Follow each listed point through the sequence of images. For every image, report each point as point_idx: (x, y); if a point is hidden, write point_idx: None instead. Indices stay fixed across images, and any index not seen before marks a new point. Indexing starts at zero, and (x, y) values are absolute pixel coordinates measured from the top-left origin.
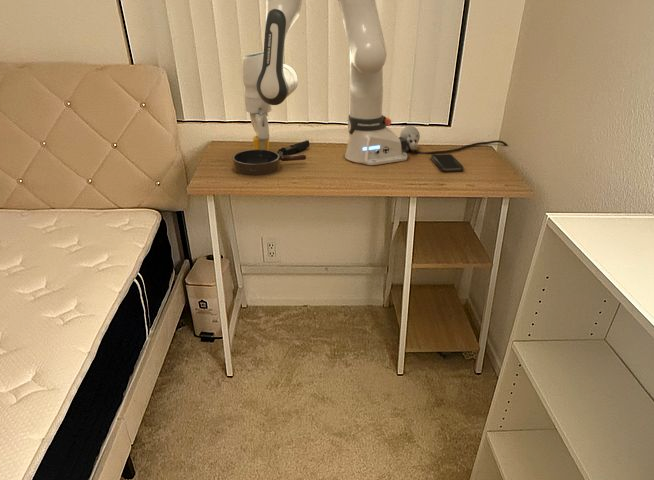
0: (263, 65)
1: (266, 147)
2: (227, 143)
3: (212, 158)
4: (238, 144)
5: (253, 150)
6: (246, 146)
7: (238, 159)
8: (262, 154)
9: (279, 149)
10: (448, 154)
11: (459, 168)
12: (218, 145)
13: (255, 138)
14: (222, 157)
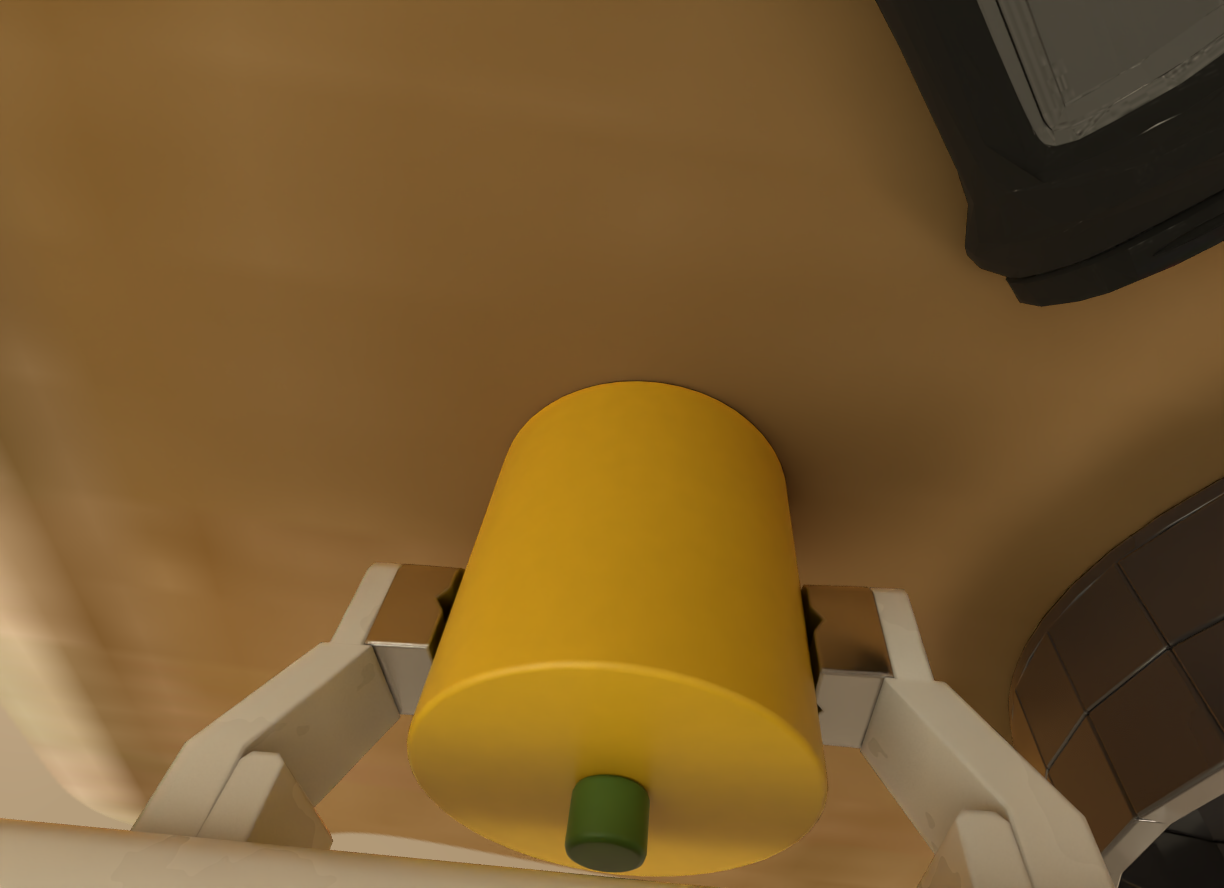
0: None
1: (783, 552)
2: (177, 741)
3: (703, 881)
4: (187, 672)
5: (1145, 843)
6: (259, 617)
7: (1124, 874)
8: (1214, 671)
9: (1127, 284)
10: None
11: None
12: None
13: (678, 863)
14: None
